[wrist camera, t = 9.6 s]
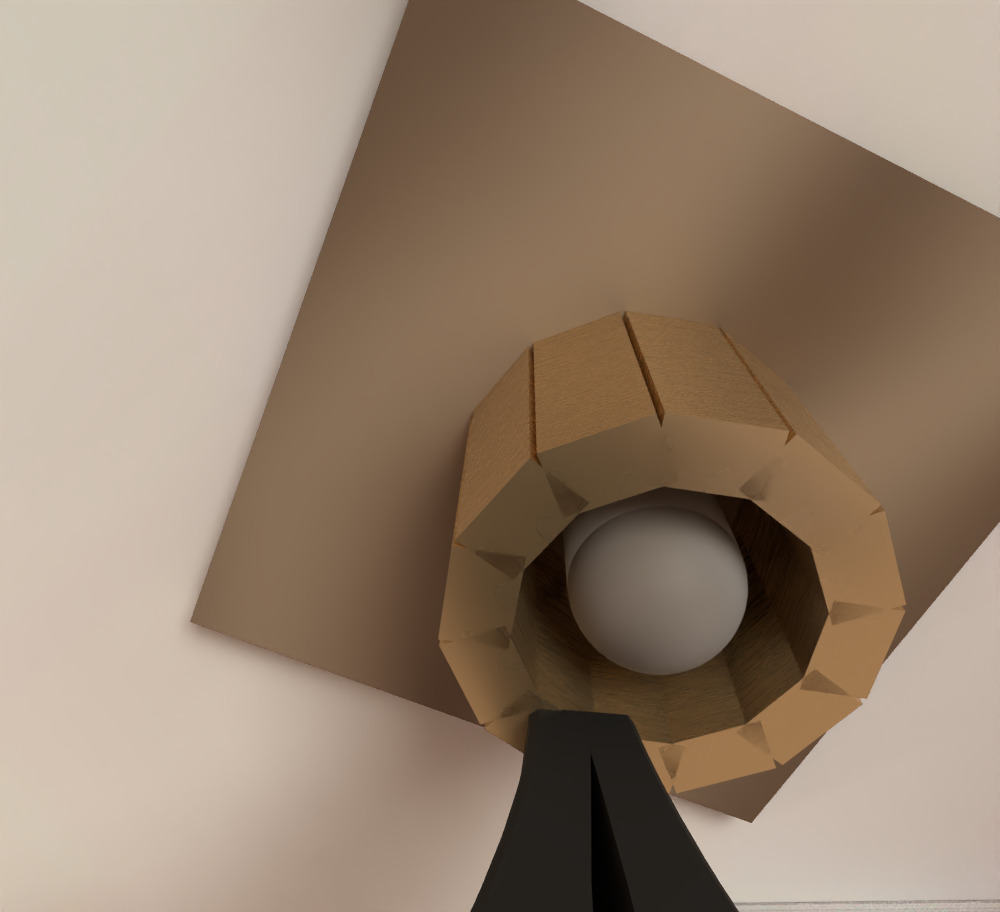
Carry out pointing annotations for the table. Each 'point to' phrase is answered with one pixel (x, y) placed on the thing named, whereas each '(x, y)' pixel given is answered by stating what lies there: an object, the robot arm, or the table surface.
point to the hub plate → (582, 299)
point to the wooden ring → (643, 467)
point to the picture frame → (875, 906)
